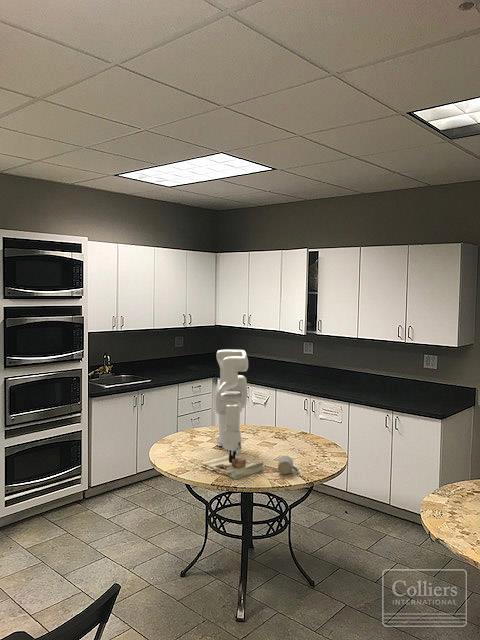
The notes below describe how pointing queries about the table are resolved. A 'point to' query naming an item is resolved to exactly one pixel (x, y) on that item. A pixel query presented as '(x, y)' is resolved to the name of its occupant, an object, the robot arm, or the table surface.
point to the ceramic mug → (286, 465)
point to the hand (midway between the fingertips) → (232, 462)
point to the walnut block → (238, 462)
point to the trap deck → (231, 470)
